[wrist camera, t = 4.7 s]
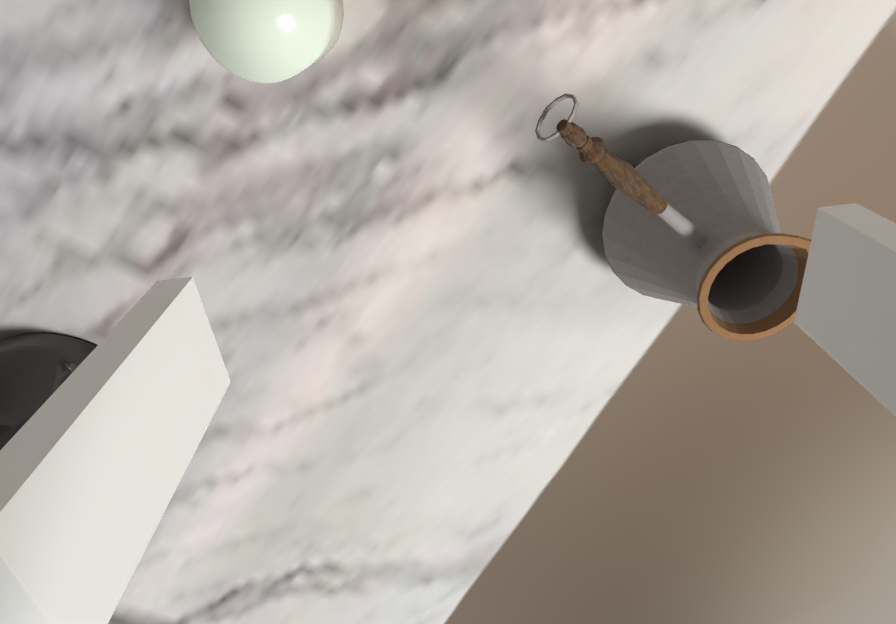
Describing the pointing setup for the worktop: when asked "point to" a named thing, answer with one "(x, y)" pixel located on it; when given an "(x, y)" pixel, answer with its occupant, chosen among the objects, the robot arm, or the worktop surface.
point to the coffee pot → (698, 232)
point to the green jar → (267, 34)
